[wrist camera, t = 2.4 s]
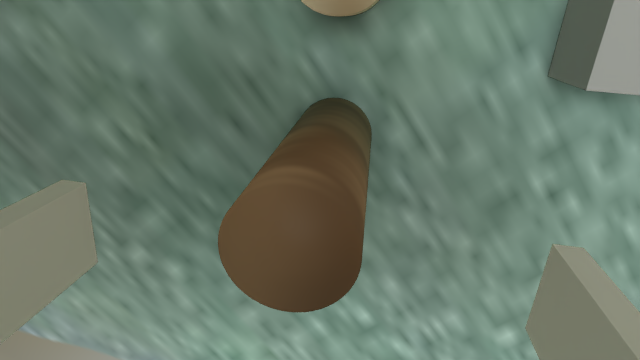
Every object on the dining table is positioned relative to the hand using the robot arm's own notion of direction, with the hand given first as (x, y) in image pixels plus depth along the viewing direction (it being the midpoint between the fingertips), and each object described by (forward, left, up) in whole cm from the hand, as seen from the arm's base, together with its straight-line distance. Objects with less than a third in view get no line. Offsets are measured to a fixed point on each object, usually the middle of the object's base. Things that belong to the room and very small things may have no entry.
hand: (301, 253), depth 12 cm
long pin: (0, 0, -12) cm, 12 cm away
